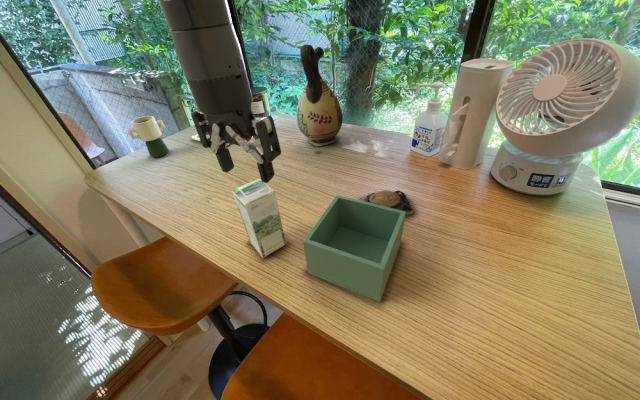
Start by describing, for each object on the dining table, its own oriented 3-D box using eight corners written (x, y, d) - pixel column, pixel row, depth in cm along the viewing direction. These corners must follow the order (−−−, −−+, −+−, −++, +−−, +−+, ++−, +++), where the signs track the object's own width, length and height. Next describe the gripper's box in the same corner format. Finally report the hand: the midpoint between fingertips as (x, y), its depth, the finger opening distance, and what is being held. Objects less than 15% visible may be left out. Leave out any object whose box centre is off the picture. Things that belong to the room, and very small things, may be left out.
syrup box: (273, 230, 57) (258, 176, 48) (287, 245, 53) (274, 189, 44) (250, 243, 54) (230, 188, 45) (263, 260, 50) (244, 204, 41)
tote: (379, 302, 42) (384, 269, 36) (308, 273, 47) (302, 241, 42) (400, 244, 51) (406, 211, 45) (338, 225, 56) (336, 194, 51)
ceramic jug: (308, 130, 98) (298, 39, 80) (347, 132, 94) (346, 37, 75) (291, 150, 86) (274, 49, 67) (335, 154, 81) (330, 47, 63)
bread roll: (368, 221, 57) (368, 209, 54) (360, 198, 63) (360, 186, 61) (415, 216, 57) (418, 203, 54) (402, 193, 63) (404, 181, 61)
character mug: (171, 146, 97) (155, 112, 89) (179, 151, 93) (162, 116, 84) (141, 157, 91) (120, 122, 83) (148, 163, 87) (127, 127, 79)
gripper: (154, 74, 33) (201, 178, 43) (237, 79, 27) (268, 197, 37) (199, 61, 38) (231, 157, 48) (277, 63, 32) (295, 171, 42)
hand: (247, 174), depth 43 cm, fingers open, 8 cm apart
